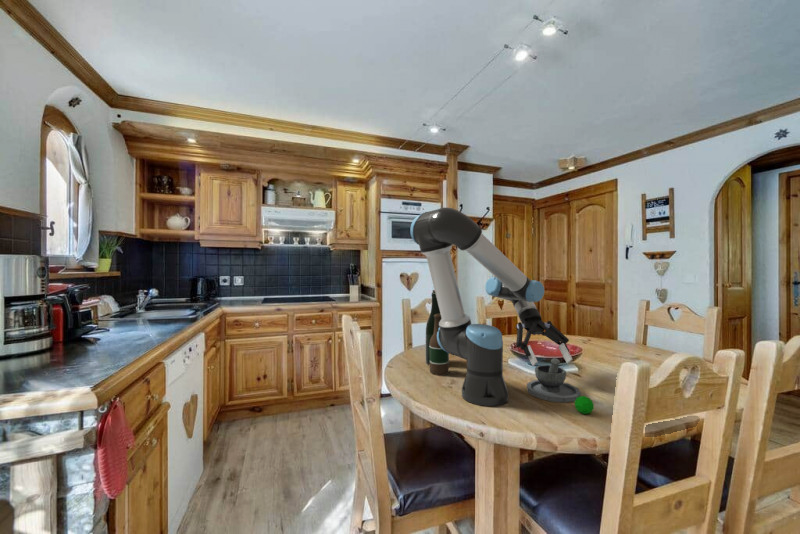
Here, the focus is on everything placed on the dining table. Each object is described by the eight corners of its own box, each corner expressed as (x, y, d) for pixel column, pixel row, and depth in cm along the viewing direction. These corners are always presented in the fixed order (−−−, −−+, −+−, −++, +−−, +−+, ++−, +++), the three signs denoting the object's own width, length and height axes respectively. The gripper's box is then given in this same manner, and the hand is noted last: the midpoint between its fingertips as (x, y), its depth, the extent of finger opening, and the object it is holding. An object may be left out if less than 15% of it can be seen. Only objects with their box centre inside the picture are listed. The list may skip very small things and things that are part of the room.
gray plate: (568, 406, 103) (568, 402, 103) (518, 392, 115) (518, 387, 115) (587, 392, 114) (587, 388, 114) (540, 380, 126) (540, 376, 126)
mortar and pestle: (532, 383, 121) (531, 350, 121) (559, 384, 121) (558, 351, 120) (542, 396, 110) (542, 359, 110) (572, 396, 109) (571, 360, 109)
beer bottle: (439, 377, 132) (438, 316, 131) (425, 372, 138) (425, 314, 137) (452, 372, 136) (452, 314, 136) (438, 368, 142) (438, 312, 142)
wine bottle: (446, 359, 155) (445, 288, 155) (451, 366, 145) (450, 290, 144) (424, 360, 155) (423, 289, 154) (427, 367, 144) (426, 290, 144)
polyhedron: (576, 407, 103) (576, 392, 103) (595, 412, 99) (595, 396, 99) (573, 413, 99) (572, 397, 99) (591, 418, 96) (591, 401, 96)
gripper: (551, 317, 136) (578, 365, 121) (495, 319, 131) (515, 370, 116) (560, 305, 130) (589, 354, 116) (501, 308, 125) (524, 359, 111)
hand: (552, 362), depth 116 cm, fingers open, 13 cm apart
